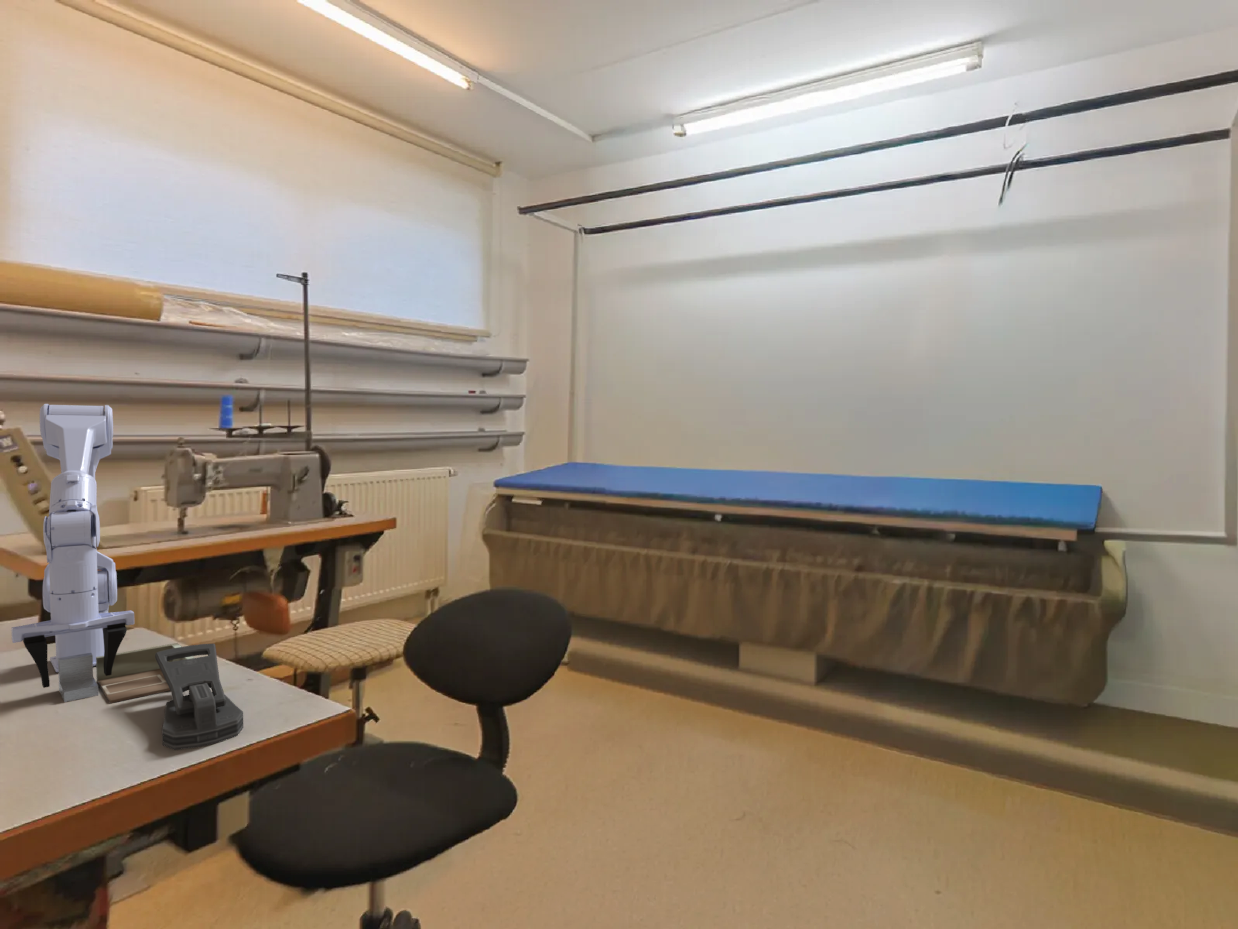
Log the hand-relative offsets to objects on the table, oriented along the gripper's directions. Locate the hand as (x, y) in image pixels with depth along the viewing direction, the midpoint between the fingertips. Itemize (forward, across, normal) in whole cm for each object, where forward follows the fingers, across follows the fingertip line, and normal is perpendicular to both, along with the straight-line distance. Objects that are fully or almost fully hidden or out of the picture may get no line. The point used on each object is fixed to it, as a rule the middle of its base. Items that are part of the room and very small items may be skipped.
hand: (77, 679), depth 106 cm
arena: (+2, +8, -4) cm, 9 cm away
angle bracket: (+2, 0, -1) cm, 2 cm away
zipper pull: (+2, +11, -23) cm, 25 cm away
